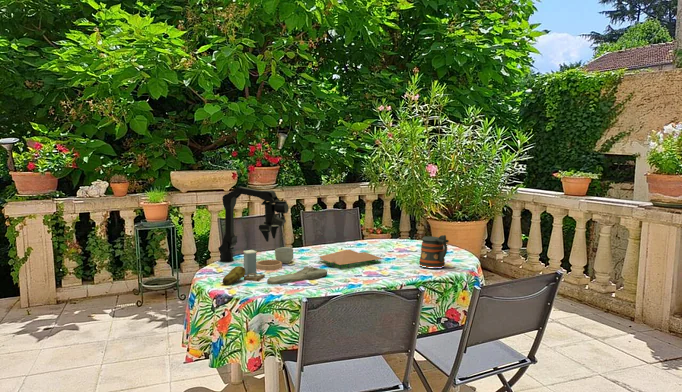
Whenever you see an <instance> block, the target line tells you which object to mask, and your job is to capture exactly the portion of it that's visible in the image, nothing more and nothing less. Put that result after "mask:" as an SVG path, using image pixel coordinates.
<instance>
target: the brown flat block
mask: <svg viewBox="0 0 682 392" xmlns="http://www.w3.org/2000/svg"><path fill="white" fill-rule="evenodd" d="M318 258H319V261H321V262H323V263H324V264H325V265H328V267H331V268H337V269H338V268H339V270H342V268H346V269H349V268H350V267H352V268H355V264H358V263H359V265H360V267H361V266H363V265H365V262H367V263H368V262H369V265H370V264H371V265H373V261H372V260H375V261H377V263H379V262H380V263H381V259H383V257H381V256H380V257H379V256H377V255H375V254H371V253H369V252H366V251H363V252H357V251H354V250H352V249H345V250H340V251H337V252H332V253H328V254H324V255H320V256H318Z"/></svg>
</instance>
